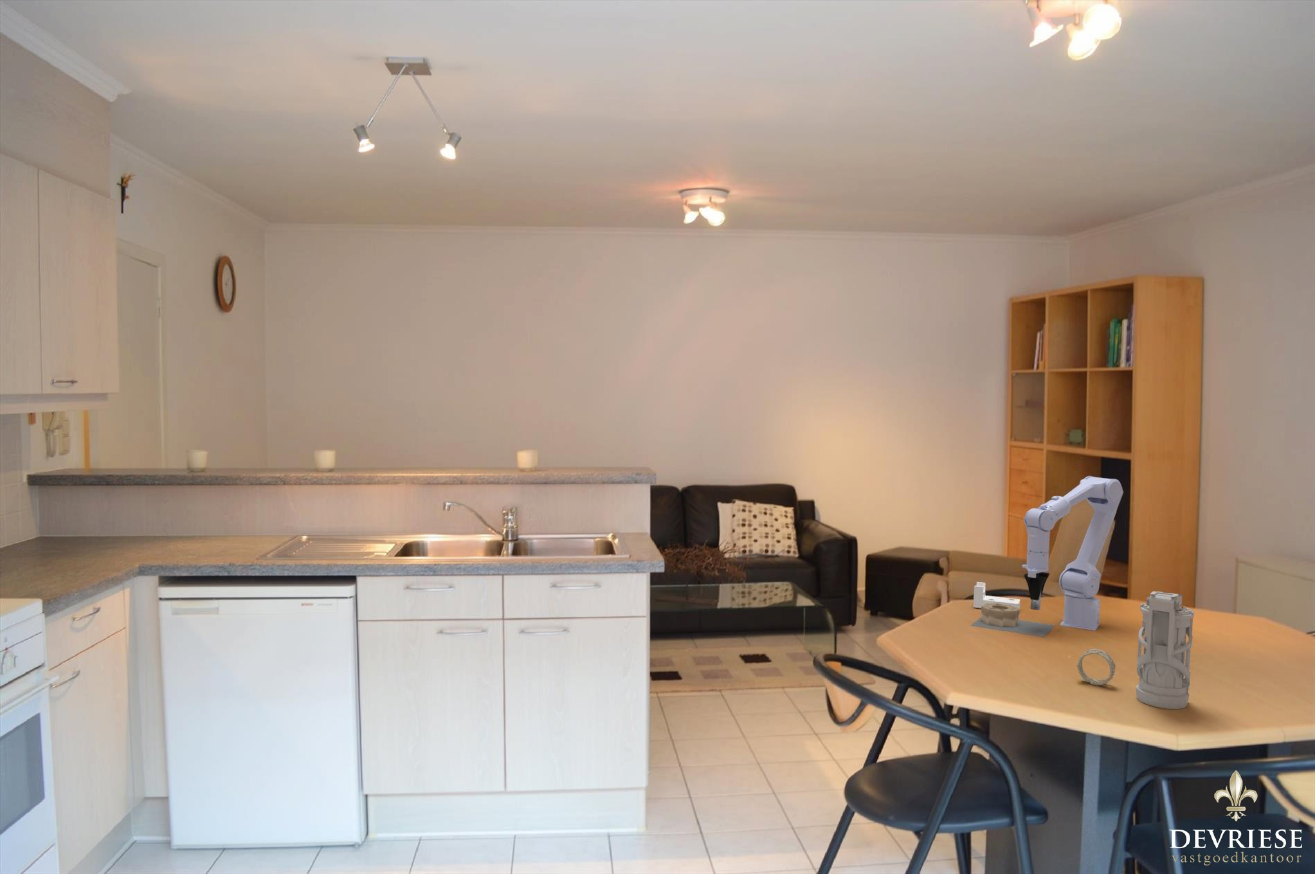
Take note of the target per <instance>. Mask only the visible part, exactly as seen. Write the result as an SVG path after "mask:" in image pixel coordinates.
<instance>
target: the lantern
mask: <svg viewBox="0 0 1315 874" xmlns="http://www.w3.org/2000/svg"><path fill="white" fill-rule="evenodd" d="M1149 595H1150V596H1147V597H1146V600H1145V602H1142V603H1141V604H1140V605H1139V611H1140V612H1141V613H1142V623H1141V627H1140V629H1139V630H1138V640H1137V641H1138V642H1137V655H1136V656H1137V657H1136V658H1137V659H1136V673H1137V675H1138V677H1139V680H1138V684H1136V686H1135V695H1136V699H1137V700H1138V701H1139V702H1140V703H1143V704H1145V705H1147V706H1151V707H1156V708H1161V709H1167V710H1180V709H1184V708H1186V707H1187V705H1188V703H1189V697H1190V694H1189V687H1190V683H1191V671H1190V666H1191V664H1190V663H1191V648H1192V644H1193V624H1194V623H1193V621H1194V616H1195V615H1194V614H1195V611H1194V610H1193V609H1191V608H1190V607H1186V606H1182V603H1183V595H1182V594H1179V593H1173V592H1172V593H1171V592H1169V593H1168V592H1163V591H1157V590H1156V591H1151V592H1150V593H1149ZM1143 636H1144V638H1143ZM1187 637H1188V640H1187ZM1186 640H1187V641H1186ZM1142 647H1143V654H1142Z"/></svg>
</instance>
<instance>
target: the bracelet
mask: <svg viewBox="0 0 1315 874" xmlns="http://www.w3.org/2000/svg"><path fill="white" fill-rule="evenodd" d="M1089 655H1097V656H1100V657H1102V658H1103V659H1104V660H1105V661H1106V662H1107V664H1108V666H1109V676H1108V677H1106V678H1105V679H1096V678H1093V677H1090V675H1088V674H1086V672H1085V671H1084V668H1083V660H1084V658H1085V657H1087V656H1089ZM1076 667H1077V671H1078V674H1079V676H1080V677H1081V678H1082V679H1083V680H1084V681H1085V682H1087V683H1089V684H1091V685H1094V686H1104V685H1106V684H1107V683H1109V682H1110V681H1112V679H1113V678H1114V676H1115V672H1116V663H1115V660H1114V659H1113V657H1112V656H1111V655H1110V654H1109V653H1108V652H1106V651H1105V650H1102V649H1099V648H1090V649H1087V650H1086V651H1084V652H1083V653H1082V654H1081V655H1080V657H1078V662H1077V663H1076Z"/></svg>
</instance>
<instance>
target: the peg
mask: <svg viewBox="0 0 1315 874" xmlns="http://www.w3.org/2000/svg"><path fill="white" fill-rule="evenodd" d="M1041 599H1042V596H1041V593H1040V598H1039V600H1031V599H1030V607H1029V608H1030V610H1034V611H1040V610H1041V601H1042V600H1041Z"/></svg>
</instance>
